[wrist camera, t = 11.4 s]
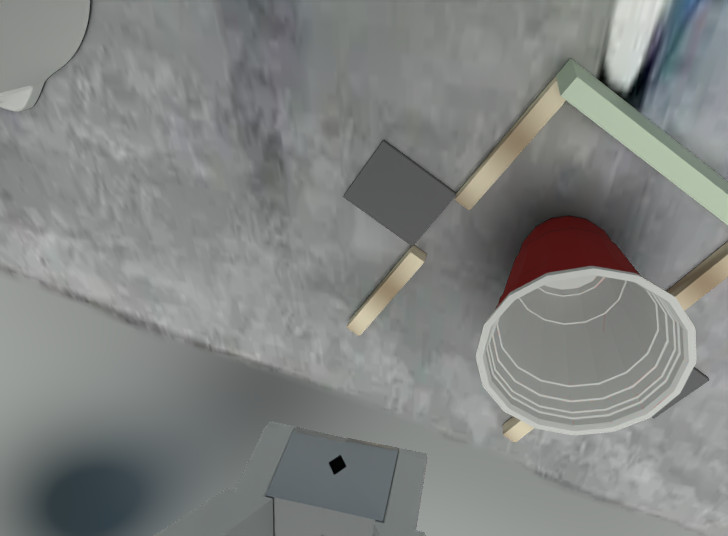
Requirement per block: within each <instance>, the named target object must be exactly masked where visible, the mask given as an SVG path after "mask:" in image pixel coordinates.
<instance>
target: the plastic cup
mask: <svg viewBox="0 0 728 536" xmlns="http://www.w3.org/2000/svg"><path fill="white" fill-rule="evenodd" d="M476 360H477V364H478V368H479V372H480V376H481V380H482V384H483V387H484V388H485V390H486V391H487V392H488V393H489V394H490V395H491V397H492V398H493V399H494V400H495V401H496V402H497V404H498V405H499V406H500V407H501V408H502V410H503V411H504V412H506V413H508V414H510V415H512V416H513V417H515V418H517V419H519V420H521V421H523V422H525V423H526V424H528V425H530V426H532V427H534V428H536V429H542V430H547V431H552V432H558V433H563V434H568V435H584V434H595V433H606V432H615V431H617V430H620V429H622V428H625V427H627V426H630V425H633V424H635V423H638V422H640V421H643V420H646V419H648V418H651V417H652V416H653V415H654V414H656V413H657V412H658V411H659V410H661V409H662V408H663V407H664V406H665V405H667V404H668V403H669V402H670V401H671V400H673V399H674V398H675V397H676V396H678V395H679V394H680V393H681V391H682V389H683V387H684V385H685V383H686V381H687V379H688V377H689V375H690V373H691V372H692V370H693V368H694V366H695V364H696V334H695V327H694V325H693V324H692V322H691V321H690V319H689V318H688V316H687V314H686V313H685V311H684V310H683V308H682V307H681V305H680V304H679V302H678V301H677V299H676V297H674V296H673V295H671V294H670V293H668V292H666V291H665V290H663V289H661V288H660V287H658V286H656V285H655V284H653V283H651V282H650V281H648V280H646V279H645V278H643V277H642V276H640V275H639V273H638V272H637V271H636V270H635V268H634V267H633V266H632V264H631V263H630V262H629V261H628V259H627V258H626V257H625V255H624V254H623V253H622V252H621V250H620V249H619V248H618V247H617V245H616V244H615V243H613V242H612V241H611V240H610V238H609V237H608V236H607V234H606V233H605V231H604V230H602V229H601V228H599V227H598V226H596V225H595V224H593V223H591V222H590V221H588V220H587V219H583V218H578V217H573V216H564V217H557V218H551V219H549V220H547V221H546V222H544V223H542V224H540V225H538V226H536V227H535V229H534V230H533V231H532V232H531V233H530V234H529V236H528V237H527V238H526V239H525V240H524V242H523V244H522V247H521V249H520V252H519V255H518V256H517V257H516V259H515V262H514V264H513V267H512V270H511V273H510V276H509V279H508V281H507V284H506V287H505V290H504V293H503V295H502V296H501V297H500V300H499V304H498V306H497V307H496V309H495V310H494V312H493V313H492V314H491V315H490V316H489V317H488V319H487V320H486V322H485V324H484V327H483V331H482V335H481V338H480V342H479V346H478V349H477V353H476Z"/></svg>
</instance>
